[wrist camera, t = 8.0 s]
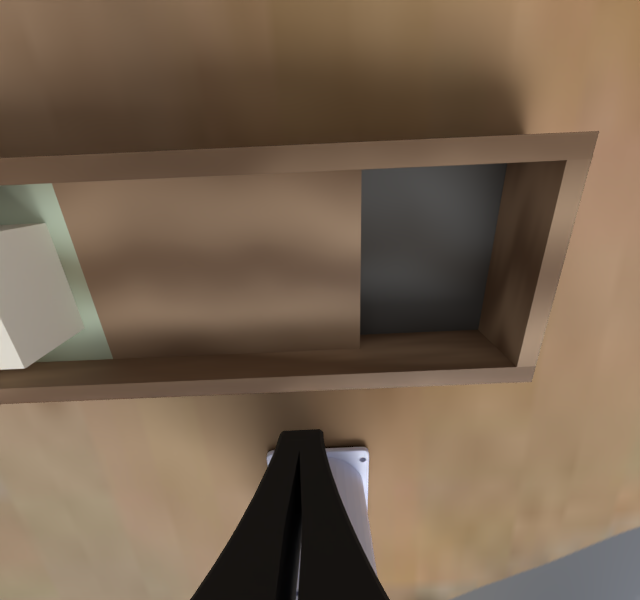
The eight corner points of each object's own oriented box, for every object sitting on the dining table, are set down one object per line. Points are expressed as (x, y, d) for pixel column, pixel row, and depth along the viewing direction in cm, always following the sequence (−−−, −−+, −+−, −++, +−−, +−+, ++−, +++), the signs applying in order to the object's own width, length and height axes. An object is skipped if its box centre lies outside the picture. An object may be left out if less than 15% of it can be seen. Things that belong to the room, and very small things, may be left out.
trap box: (488, 340, 21) (531, 381, 17) (18, 360, 21) (-55, 406, 17) (526, 141, 16) (599, 131, 12) (-76, 168, 16) (-209, 167, 12)
